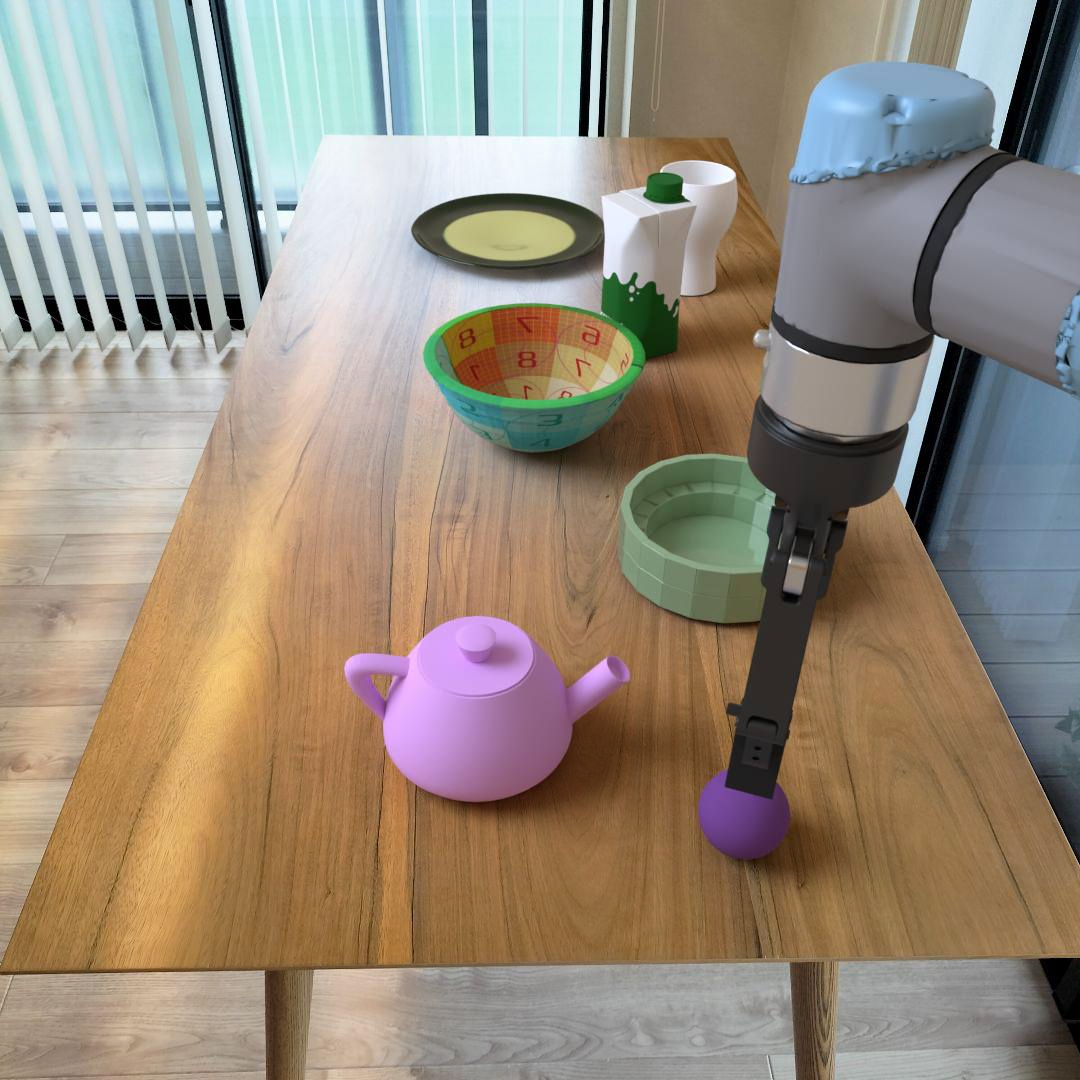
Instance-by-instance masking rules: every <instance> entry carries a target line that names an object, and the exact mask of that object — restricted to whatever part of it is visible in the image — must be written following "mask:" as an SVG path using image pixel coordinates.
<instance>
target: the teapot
mask: <svg viewBox="0 0 1080 1080" xmlns="http://www.w3.org/2000/svg"><path fill="white" fill-rule="evenodd" d="M343 671H344V676H345V679H346V682H347V684H348V685H349V688H350V689H351V690H352V693H354V695H356V697H358V699H359V700H360V701H361V702H362V703H363V704H364V705H365V706H366V707H367V708H368V709H369V710H370V711H371V712H373V714H374V715H376V716H377V717H378V718H379V719H380V720H381V721H382V729H383V731H382V732H383V741H384V745H385V748H386V751H387V754H388V755H389V757H390V760H391V761H392V763H393V764H394V765H395V767H396V768H397V769H398V771H399V772H400V773H401V774H402V775H403V776H404V777H405V778H406V779H407V780H408V781H410V782H411V783H412V784H414V785H415V786H416V787H419V788H420V789H422V790H424V791H426V792H429V793H430V794H433V795H436V796H438V797H441V798H445V799H448V800H453V801H458V802H459V801H460V802H466V803H468V802H469V803H470V802H471V803H483V802H484V803H485V802H492V801H498V800H503V799H506V798H507V799H508V798H510V797H513V796H516V795H519V794H521V793H523V792H525V791H528V790H530V789H532V788H533V787H535V786H537V785H539V784H540V783H541V782H542V781H544V780H545V779H547V777H548V776H549V775H550V774H552V773H553V772H554V771H555V770H556V768H557V767H558V766H559V764H560V763H561V762H562V760H563V758H564V757H565V755H566V753H567V751H568V749H569V747H570V743H571V740H572V736H573V735H572V734H573V724H574V723H575V722H577V721H578V720H579V719H580V718H582V717H583V716H584V715H586V714H587V713H588V712H590V711H591V710H592V709H593V708H595V707H596V706H598V705H599V704H600V703H601V702H603V701H604V700H605V699H607V698H608V697H610V696H611V695H612V694H614V692H616V691H617V690H619V689H620V688H621V687H623V686H624V685H626V684H627V683H628V682H629V681H630V680H631V672H630V670H629V668H628V666H627V665H626V663H625V662H624V661H623V660H622V659H621V658H620V657H618V656H616V655H614V654H610V655H608V656H606V657H605V658H604V659H603V660H602V661H600V662H599V663H597V665H596V666H594V667H593V668H592V669H590V670H589V671H588V672H587V673H586V674H584V675H583V676H582V677H581V678H579V679H578V680H576V681H575V682H574V683H573V684H572V685H570V686H569V687H566V684H565V681H564V679H563V677H562V675H561V673H560V670H559V669H558V667H557V666H556V664H555V663H554V661H553V660H552V659H551V657H550V656H549V655H548V653H547V652H546V650H544V649H543V648H542V646H541V645H540V644H539V643H537V641H536V640H535V639H534V638H533V637H532V636H530V634H529V633H527V632H526V631H524V630H523V629H521V627H519V626H517V625H516V624H514V623H512V622H510V621H508V620H504V619H501V618H498V617H493V616H484V615H483V616H481V615H475V616H472V615H471V616H465V617H464V616H463V617H458V618H455V619H451V620H448V621H446V622H444V623H441V624H439V625H438V626H436V627H435V628H434V629H432V630H431V631H429V632H428V633H427V634H426V635H425V636H424V637H423V638H421V640H419V641H418V643H417V644H416V645H415V646H414V647H413V648H412V650H411V651H410V652H409V654H408V655H407V656H400V655H394V654H386V653H385V654H384V653H371V652H370V653H369V652H367V653H358V654H355V655H353V656H350V658H348V659H347V660H346V662H345V664H344V669H343ZM371 675H388V676H394V677H393V679H392V681H391V684H390V687H389V689H388V692H387V695H386V699H385V698H384V697H383V696H382V694H381V693H380V692H379V690H378V689H377V687H376V686H375V684H374V682H373V680H372V678H371Z"/></svg>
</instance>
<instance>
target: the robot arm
mask: <svg viewBox="0 0 1080 1080" xmlns="http://www.w3.org/2000/svg"><path fill="white" fill-rule="evenodd" d="M996 108H997V103H996V98H995V96H994V93H993V91H992V89H991V88H990V87H989V85H987V84H986V83H985V82H983V80H979V79H976V78H971V77H970V76H969V75H968V73H966V72H962V71H960V70H955V69H952V68H949V67H944V66H941V65H934V64H928V63H919V62H908V61H889V60H888V61H885V60H884V61H881V60H880V61H868V62H867V61H866V62H860V63H855V64H854V63H853V64H851V65H847V66H844V67H840V68H837V69H835V70H833V71H831V72H830V73H828V74H827V75H825V76H824V77H823V78H821V80H820V81H819V82H818V83H817V84H816V85H815V87H814V88H813V90H812V92H811V94H810V97H809V99H808V104H807V109H806V113H805V116H804V121H803V125H802V131H801V135H800V140H799V144H798V150H797V154H796V158H795V163H794V166H793V167H792V168H791V170H790V171H789V175H788V181H789V182H790V183H789V190H788V198H787V204H786V205H787V206H786V213H785V221H784V222H785V223H784V231H783V239H782V245H781V246H782V247H781V254H780V262H779V272H778V277H777V285H776V290H775V296H774V297H772V307H771V312H770V320H769V323H768V324H769V325H768V329H761V328H760V329H758V330H756V332H755V333H754V335H753V338H752V346H753V347H755V349H757V350H761V351H764V352H765V351H766V353H765V355H764V358H763V360H762V367H761V373H760V378H759V393H760V394H759V395H758V397H757V398H756V400H755V402H754V407H753V413H752V419H751V425H750V432H749V437H748V438H749V439H748V443H747V449H746V458H747V460H748V464H749V467H750V469H751V471H752V473H753V475H754V476H755V477H756V479H757V480H758V481H759V482H760V483H761V484H762V485H763V486H765V487H766V488H767V489H769V490H770V491H772V492H774V493H775V494H776V495H775V501H774V504H775V505H776V506H773V505H772V508H771V512H770V516H769V520H768V525H767V536H768V538H769V543H768V548H767V552H766V557H765V561H764V566H763V570H762V575H761V583H762V585H763V587H764V588H765V589H766V595H765V600H764V605H763V609H762V614H761V619H760V620H759V624H758V628H757V632H756V638H755V641H754V647H753V652H752V657H751V660H750V666H749V669H748V675H747V679H746V684H745V689H744V694H743V697H741V700H740V703H739V704H738V703H735V702H730V701H729V702H727V706H726V710H725V715H727V716H731V717H736V718H735V722H734V727H735V730H734V736H733V742H732V745H731V752H730V756H729V761H728V766H727V769H728V771H727V777H726V782H725V787H726V788H730V789H734V790H737V791H741V792H745V793H749V794H752V795H756V796H760V797H764V798H767V799H771V800H772V798H773V794H774V790H775V786H776V782H777V783H778V777H779V773H780V769H781V764H782V760H783V756H784V753H785V747H786V745H787V741H789V739H790V734H791V729H790V726H791V724H792V721H793V716H794V714H793V712H794V710H793V708H794V703H795V698H796V694H797V691H798V690H797V689H798V686H799V681H800V676H801V672H802V667H803V663H804V658H805V655H806V650H807V646H808V640H809V637H810V632H811V628H812V624H813V623H812V622H813V618H814V615H815V610H816V605H817V602H818V601H821V600H823V599H824V598H825V597H826V596H827V594H828V591H829V586H830V581H831V577H832V573H833V567H834V563H835V559H836V555H837V553H839V552H840V551H841V550H842V548H843V545H844V541H845V537H846V532H847V527H848V523H849V520H848V516H849V512H850V509H854V508H855V509H856V508H861V507H863V506H864V507H865V506H867V505H869V504H873V503H874V502H876V501H879V500H880V499H882V498H883V497H884V496H885V495H887V493H888V492H889V491H890V490H891V489H892V488H893V486H894V484H895V482H896V479H897V475H898V472H899V468H900V464H901V460H902V456H903V454H904V449H905V446H906V441H907V440H908V438H907V437H908V434H909V431H910V424H909V422H910V421H911V420H912V417H913V416H914V414H915V412H916V411H917V406H918V403H919V400H920V396H921V392H922V388H923V384H924V381H925V377H926V373H927V370H928V366H929V362H930V358H931V354H932V350H933V347H934V342H935V338H936V337H939V338H940V339H943V340H944V339H945V340H948V341H950V342H952V343H954V344H957V345H959V346H961V347H964V348H966V349H968V350H970V351H972V352H975V353H977V354H980V355H981V356H984V357H986V358H988V359H991V360H993V361H995V362H997V363H1000V364H1002V365H1004V366H1007V367H1009V368H1011V369H1013V370H1015V371H1018V372H1020V373H1021V374H1024V375H1027V376H1029V377H1032V378H1033V379H1036V380H1038V381H1040V382H1042V383H1044V384H1047V385H1049V386H1051V387H1053V388H1055V389H1058V390H1060V391H1063V392H1064V393H1067V394H1069V395H1070V396H1071V397H1072V398H1074V399H1076V400H1078V401H1079V402H1080V174H1079V173H1075V172H1072V171H1071V172H1070V171H1067V170H1063V169H1059V168H1055V167H1051V166H1047V165H1043V164H1040V163H1036V162H1032V161H1029V160H1028V159H1027V158H1024V157H1021V156H1017V155H1014V154H1012V153H1010V152H1007V151H1005V150H1001V149H998V148H995V147H993V146H992V145H991V144H992V142H993V141H994V139H993V138H992V137H993V134H994V133H995V132H996V130H995V129H994V120H995V115H996ZM935 336H936V337H935ZM781 533H782V535H781ZM780 537H781V541H780ZM779 542H780V548H779V549H778V546H779Z"/></svg>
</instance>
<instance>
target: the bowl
mask: <svg viewBox="0 0 1080 1080" xmlns="http://www.w3.org/2000/svg"><path fill="white" fill-rule="evenodd" d="M422 359H423V363H424V366H425V369H426V370H427V372H428V374H429V375H430V376H431V378H432V379H433V382H434V384H435V386H436V388H437V389H438V390H439V391H440V393H441V394H442V396H443V398H444V400H445V403H446V404H447V405H448V407H449V408H450V409H451V411H452V412H453V413H454V414H455V415H456V417H457V418H458V419H459V421H460V422H462V424H463V425H465V427H467V428H468V429H469V430H471V431H472V432H473V433H475V434H476V435H477V436H478V437H480V438H482V439H484V440H486V441H488V442H490V443H492V444H494V445H497V446H498V447H501V448H504V449H508V450H511V451H516V452H522V453H528V454H529V453H531V454H535V453H544V452H553V451H557V450H561V449H564V448H565V449H566V448H568V447H570V446H573V445H575V444H577V443H579V442H581V441H584V440H585V439H587V438H589V437H590V436H591V435H593V434H595V432H597V431H598V430H599V429H601V428H602V427H603V426H604V425H605V424H606V423H607V422H608V421H609V420H610V419H611V418H612V417H613V416H614V414H615V413H616V412H617V411H618V409H619V408H620V406H621V405H622V403H623V401H624V399H625V398H626V396H627V395H628V394H629V393H630V392H631V390H632V389H633V387H634V385H635V382H636V381H637V380H638V378H639V377H640V376H641V374H642V372H643V371H644V367H645V364H646V359H645V351H644V348H643V346H642V343H641V342H640V341H639V339H638V338H637V337H636V335H634V334H633V333H632V332H631V331H630V330H629V329H628V328H626V327H625V326H623V325H621V324H620V323H618V322H616V321H614V320H612V319H610V318H608V317H606V316H603V315H600V313H598V312H595V311H591V310H588V309H584V308H581V307H574V306H569V305H563V304H554V303H544V302H543V303H541V302H540V303H539V302H538V303H537V302H526V303H525V302H523V303H521V302H520V303H519V302H518V303H508V304H507V303H506V304H500V305H493V306H488V307H483V308H479V309H475V310H473V311H469V312H466V313H463V314H461V315H458V316H456V317H454V318H452V319H449V320H448V321H446V322H445V323H443V324H442V325H440V326H439V327H438V328H437V329H436V330H435V331H433V333H431V334H430V335H429V337H428V339H427V340H426V342H425V344H424V347H423V351H422Z"/></svg>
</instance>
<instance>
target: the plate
mask: <svg viewBox="0 0 1080 1080" xmlns="http://www.w3.org/2000/svg"><path fill="white" fill-rule="evenodd" d="M410 233H411V236H412V238H413V240H414V241H415V242H416V244H418V245H419V246H420V247H421V248H422V249H423V250H425V251H426V252H428V253H429V254H432V255H433V256H436V257H438V258H441V259H444V260H447V261H450V262H453V263H456V264H460V265H464V266H467V267H473V268H479V269H485V270H498V271H525V270H537V269H542V268H549V267H554V266H558V265H562V264H566V263H569V262H572V261H576V260H578V259H581V258H583V257H586V256H588V255H590V254H591V253H593V252H595V251H597V250H598V249H599V248H601V246H602V245H603V243H605V231H604V219H603V218H602V217H601V216H599V215H598V214H597V213H596V212H594V211H592V210H591V209H589V208H587V207H586V206H583V205H581V204H578V203H575V202H573V201H570V200H566V199H562V198H559V197H553V196H548V195H541V194H533V193H521V192H499V193H495V192H494V193H483V194H475V195H474V194H473V195H469V196H462V197H458V198H454V199H451V200H447V201H445V202H441V203H439V204H437V205H435V206H433V207H432V206H431V208H429V209H427V210H424V212H422V213H421V214H419V215H418V216H417V217H416V219H415V220H414V221H413V223H412V224H411V227H410Z"/></svg>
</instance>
